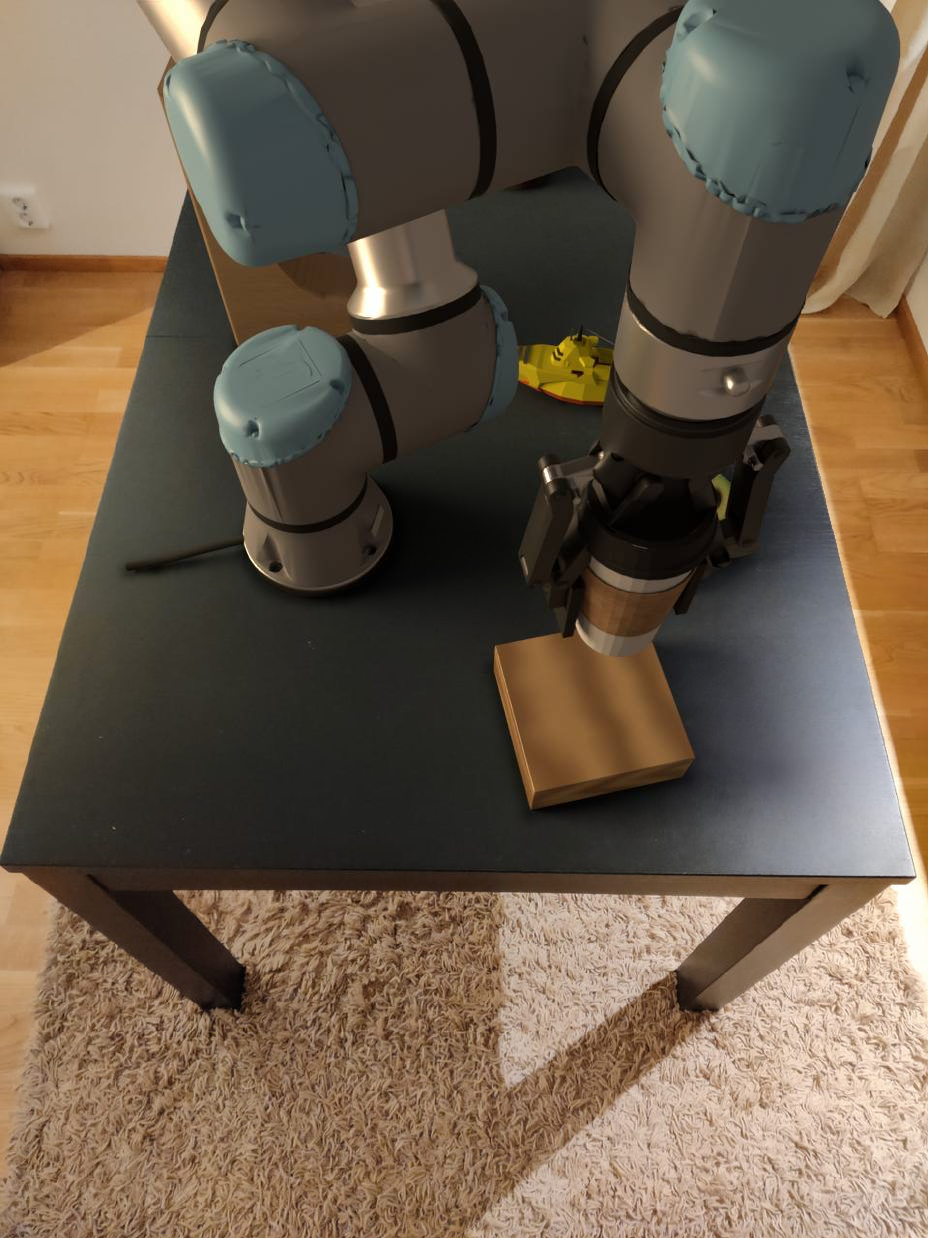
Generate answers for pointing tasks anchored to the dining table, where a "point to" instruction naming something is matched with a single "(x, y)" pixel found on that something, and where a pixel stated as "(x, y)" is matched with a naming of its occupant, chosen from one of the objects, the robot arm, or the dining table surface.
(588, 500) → the coffee cup
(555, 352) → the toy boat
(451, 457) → the dining table surface
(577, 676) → the wood block
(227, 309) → the decorative block
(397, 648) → the dining table surface
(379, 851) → the dining table surface
